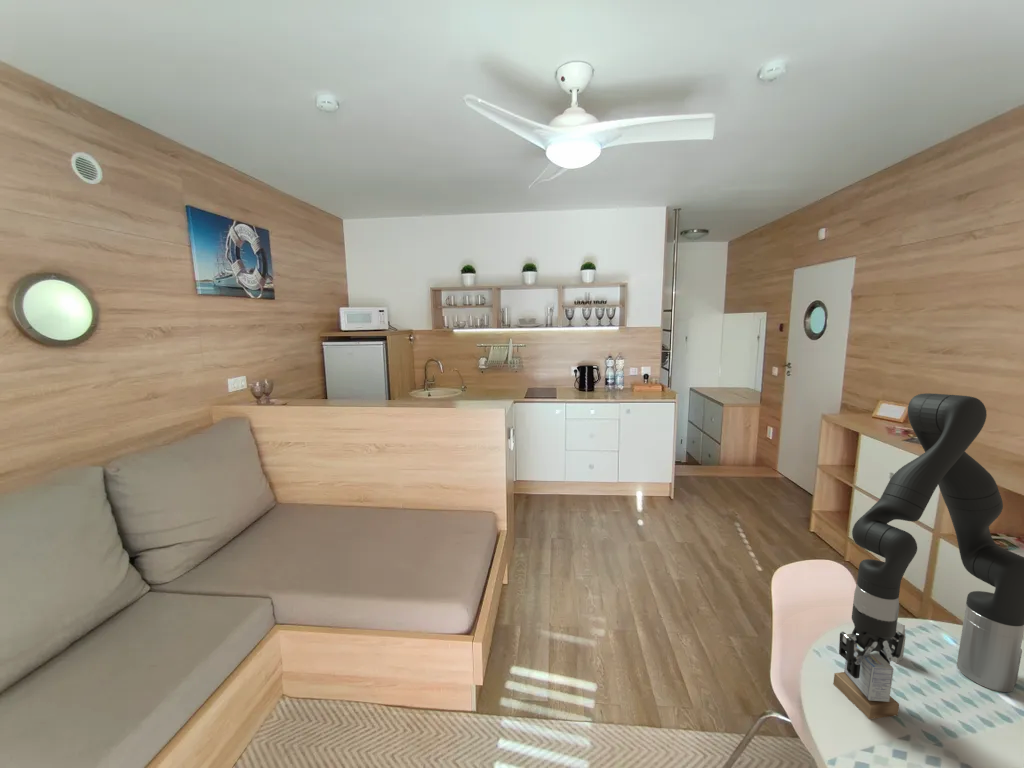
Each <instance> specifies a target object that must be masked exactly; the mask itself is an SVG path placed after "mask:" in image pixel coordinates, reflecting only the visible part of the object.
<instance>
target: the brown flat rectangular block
mask: <svg viewBox="0 0 1024 768" xmlns="http://www.w3.org/2000/svg"><path fill="white" fill-rule="evenodd" d="M832 685H834V686H835V688H836V689H838V690H839V691H840V693H842V694H843V696H845V697H846V698H847V699H848V700H849V701H850V702H851V703H852V704H853V705H854V706H855V707H856V708H857V709H858V710H859V711H860V712H861V713H862V714H863V715H865V717H866V718H868V719H869V720H872V719H873V720H874V719H875V720H876V719H882V718H889V717H898V715H899V709H900V703H899V702H898V701H897V700H896V699H894V698H893V697H892V696H891V695H890V699H889V702H884V701H870V700H868V699H867V697H866V696H865V695H864V694H863V693H862V692H861V690H860V689H859V688H858V687H857V686H856V685H855V683H854V682H853V681H852V680H851V679H850V678H849V676H848V675H847V674H846V673H845V672H843V671H841V672H834V674H833V684H832Z"/></svg>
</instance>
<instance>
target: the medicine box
mask: <svg viewBox="0 0 1024 768" xmlns="http://www.w3.org/2000/svg"><path fill="white" fill-rule="evenodd" d="M857 647H858V648H859V649H860V650H861V651H863V650H864V649H863V648H861V647H860V646H859V645H858V644H857ZM857 655H858V653H857V652H856V651H855V653H854V656H855V657H856V656H857ZM894 671H895V670H894V667H893V666H892V665H891V663H890V664H889V663H888V662H887V661H886V660H885V659H884V658H883V657H882V656H881V655H880V654H879V653H878V652H877V651H873V652H871V653H870V654H869V656H868V657H867V658H863V660H862V661H861V663H860V674H859V678H854V677H853V676H852V675H851V674H849V673H848V671H847V660H846V659H845V662H844V672H845V673H846V674H847V675H848V676H849V678H850V679H851V680H852V681H853V682H854V683H855V685H856V686H857V687H858V688H859V689H860V690H861V692H862V693H863V694H864V695H865V696H866V697H867V699H868V700H870V701H884V702H889V699H890V696H891V689H892V683H893V677H894V676H893V674H894Z"/></svg>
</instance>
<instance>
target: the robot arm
mask: <svg viewBox="0 0 1024 768" xmlns="http://www.w3.org/2000/svg"><path fill="white" fill-rule="evenodd" d="M907 417H908V418H907V419H908V421H909V424H910V427H911V429H912V430H913V432H914V434H915V436H916V438H917V440H918V441H919V443H920V445H921V446H922V449H923V451H924V453H922V454H920V455H919V456H918V457H915V458H914V459H913V460H911V461H910V462H907V463H906V464H904V465H902V466H901V467H900V468H899V469H898V470H896V471H895V473H893V475H892V476H891V478H890V479H889V481H888V483H887V484H886V486H885V488H884V490H883V492H882V495H881V497H880V498H879V500H878V501H877V502H876V503H875V504H874V505H873V506H871V507H870V509H869V510H867V511H866V512H865V513H864V514H863V515H862V516H861V517H860V518H858V519H857V520H856V522H855V523H854V525H853V528H852V531H851V535H852V539H853V541H854V542H855V544H856V545H857V546H859V547H861V548H862V549H865V550H867V551H869V552H871V553H874V554H876V555H878V556H880V557H881V558H885V559H884V560H885V561H881V560H878V559H872V558H871V559H869V558H867V559H863V560H861V561H860V562H859V565H858V571H857V581H856V586H855V589H854V592H853V603H852V610H851V621H852V622H853V625H854V628H853V630H852V632H851V633H848V634H847V633H846V632H844V631H841V632H840V633H839V642H838V643H839V647H838V648H839V649H838V650H839V651H838V654H839V655H840V656H841V657H842V658H843V659H844V660H845V661H846V660H847V671H848V673H849V674H851V675H852V676H853V677H854V678H859V674H860V663H861V661H862V660H863V658H867V657H868V656H869V654H870V653H871V652H873V651H878V653H879V654H880V655H881V656H882V657H883V658H884V659H885V660H886V661H887V662H888V663H889V664H890V665H891V662H893V661H892V660H893V657H896V658H899V657H900V655H901V650H902V645H903V640H904V635H903V634H902V633H900V632H899V631H898V630H896V627H897V622H898V618H899V612H900V611H899V610H900V602H899V601H900V598H899V597H900V591H901V585H902V584H901V583H902V579H903V577H904V574H905V573H906V571H907V568H908V567H909V565H910V564H911V563H912V561H913V560H914V558H915V556H916V554H917V551H918V543H917V541H916V539H915V537H914V536H913V535H912V534H911V533H909V531H905V529H904V530H903V529H901V528H899V527H895V526H893V525H891V524H889V523H890V522H892V521H896V520H900V521H906V522H912V523H913V522H917V521H919V520H920V519H921V517H922V516H923V514H924V511H925V510H926V508H927V506H928V505H929V503H930V500H931V498H932V497H933V495H934V492H935V490H936V489H937V488H938V489H939V491H940V494H941V496H942V500H943V501H944V503H945V506H946V508H947V511H948V514H949V517H950V519H951V523H952V526H953V529H954V531H955V536H956V542H957V546H958V550H959V557H960V560H961V563H962V565H963V567H964V569H965V570H966V571H967V572H968V573H969V574H971V575H972V576H974V577H975V578H977V579H978V580H981V581H982V582H984V583H986V584H988V585H990V586H992V587H994V588H995V589H994V593H993V592H988V591H982V590H980V591H979V590H974V591H970V592H969V593H968V594H967V596H966V602H965V603H966V604H965V609H964V615H963V622H962V628H961V636H960V639H959V640H960V641H959V648H958V652H957V653H958V655H957V661H956V667H957V669H958V670H959V672H960V673H962V675H964V676H965V677H966V678H967V679H969V680H971V681H973V682H974V683H976V684H978V685H980V686H983V687H985V688H986V689H989V690H993V691H996V692H1000V693H1010V692H1012V691H1013V690H1014V687H1015V685H1017V682H1018V678H1019V677H1018V675H1019V671H1020V664H1021V658H1022V653H1023V649H1022V648H1021V647H1022V642H1023V637H1024V556H1021V555H1020V554H1017V553H1015V552H1012V551H1010V550H1008V549H1006V548H1005V547H1002V546H999V544H997V543H996V542H995V540H994V538H993V537H992V534H991V531H990V526H991V525H992V524H993V523H994V522H995V521H996V520H997V519H998V518H999V516H1000V515H1001V513H1002V511H1003V509H1004V503H1003V500H1002V496H1001V493H1000V489H999V488H998V484H997V482H996V480H995V479H994V477H993V476H992V474H991V473H990V472H989V471H988V470H987V469H986V468H985V467H984V466H982V465H981V464H980V463H979V462H978V461H977V460H976V459H975V458H973V457H972V456H971V455H970V454H968V453H967V452H966V451H967V449H968V448H969V446H971V444H972V443H973V442H974V440H975V439H976V438H977V437H978V436H979V434H980V433H981V431H982V429H983V427H984V425H985V423H986V421H987V408H986V405H985V404H984V403H983V401H982V400H980V399H979V398H977V397H975V396H970V395H962V394H961V395H960V394H959V395H957V394H948V393H947V394H945V393H929V392H928V393H927V392H926V393H919V394H917V395H915V396H913V397H912V398H911V399H910V400H909V403H908V406H907ZM857 644H858V645H859V646H860V647H861V648H863V649H864V650H863V651H861V650H860V649H859V648H858V647H857ZM892 645H894V647H895V650H894V649H893V648H892ZM855 651H856V652H857V653H858V655H857V656H856V657H855V656H854V653H855Z"/></svg>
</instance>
